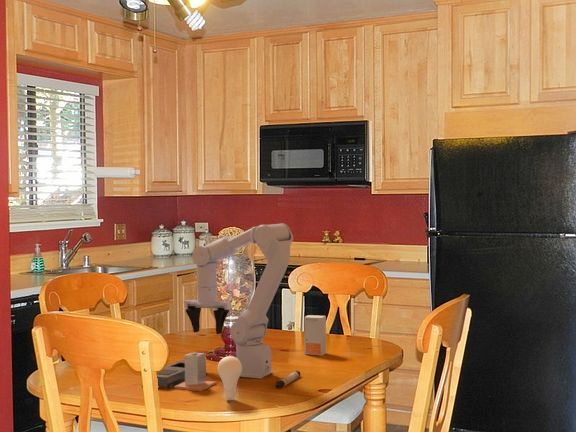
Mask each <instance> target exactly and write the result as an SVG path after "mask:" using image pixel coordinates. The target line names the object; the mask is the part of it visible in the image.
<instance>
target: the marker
mask: <svg viewBox="0 0 576 432" xmlns="http://www.w3.org/2000/svg"><path fill="white" fill-rule="evenodd" d="M299 377H301V372H300V371H299V370H295V371H294V372H292V373H290V374H288V375H286V376H285V377H283V378H282V379H279V380H278V381H276V383H275V389H281V388H284V387H286V386H287V385H289V384H290V383H292V382H293V381H295V380H297V379H299Z"/></svg>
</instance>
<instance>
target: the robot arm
mask: <svg viewBox="0 0 576 432" xmlns="http://www.w3.org/2000/svg"><path fill="white" fill-rule="evenodd" d="M293 240H294V235H293V233H292V230H291V228H290V226H288V225H287V224H286V223H283V222H280V223H274V224H260V225H258V226H253V227H250V229H247V230H245V231H243V232H242V233H239V234H237V235H235V236H233V237H231V236H226V235H221V236H218V239H216V240H214V241H209V242H207V244H206V245H198V246H197V247H195V248H194V249H193V251H192V256H191V257H192V261H193V263H194V264H195V265H196V286H197V287H196V288H197V289H196V293H197V294H196V296H197V299H185V300H184V303H183V305H184V308H186V309H185V313H186V315H187V316H188V319H189V321H190V323H191V324H190V325H191V326H192V331H193V333H198V332H200V326H201V325H200V323H201V322H200V319H201V318H200V316H201V312H202V309H212V310H213V309H215V310H213V315H214V319H215V333H216V335H221V334H222V333H223V328H224V324H225V320H226V318H227V316H228V315H229V312H230V309H231V307H232V306H231V305H232V303H231V301H230V302H229V301H222V300H218V286H217V285H218V284H217V283H218V282H217V281H218V280H217V279H218V278H217V276H218V274H217V270H218V266H219V263H220V261H222V260H224V259H226V258H230V257H231V256H234V255H235V254H236V252H237V249H239V248H243V247H244V246H247V245H251V244H256V246H257V247H258V248H259V250H260V252H261V253H262V254H263V256H264V257H265V258H266V260H267V263H266V266H265V268H264V270H263V273H262V274H261V276H260V279H259V282H258V283H257V286H256V287H255V290H254V293H253V295H252V297H251V299H250V302H249V304H248V306H247V308H246V309H245V310H244V311H243V312H242V313H240V315H238V318H237V320H236V321H234V322H233V323H232V324H231V327H230V330H229V331H230V333H229V334H230V337H231V340H232V341H233V342H234V345H235V347H236V348H235V350H236V351H235V352H236V354H235V355H236V356H235V357H236V358H237V359H238V360H239V361H240V362H241V365H242V372H241V375H240V377H241V378H251V379H263V378H265V377H266V376H269V375H270V374H272V373H273V370H272V348H271V346H270V345H269V344H265V343H262V342H264V337H265V336H266V334H267V330H268V324H269V321H270V319H269V318H268V316H267V313H268V310H269V308H270V306H271V304H272V302H273V300H274V298H275V295H276V293H277V291H278V289H279V287H280V284H281V282H282V279H283V278H284V276H285V273H286V271H287V268H288V266H289V264H290V260H291V257H290V256H291V244H292V242H293ZM240 377H239V378H240Z"/></svg>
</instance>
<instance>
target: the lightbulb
mask: <svg viewBox="0 0 576 432" xmlns="http://www.w3.org/2000/svg"><path fill="white" fill-rule="evenodd" d="M216 371H217V373H218V376H219V378H220V379H221V382H222V385H223V390H224V397H225V399H227V400H228V401H233V400H234V399H236V393H237V392H236V390H237V388H238V387H237V385H238V381H239V379H240V375H241V372H242V365H241V362H240V361H239V360H238V359H237V358H236V356H233V355H228V356H227V355H226V356H224V357H223V358H222V359H221V358H220V360H219V362H218V365H217V370H216Z"/></svg>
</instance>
